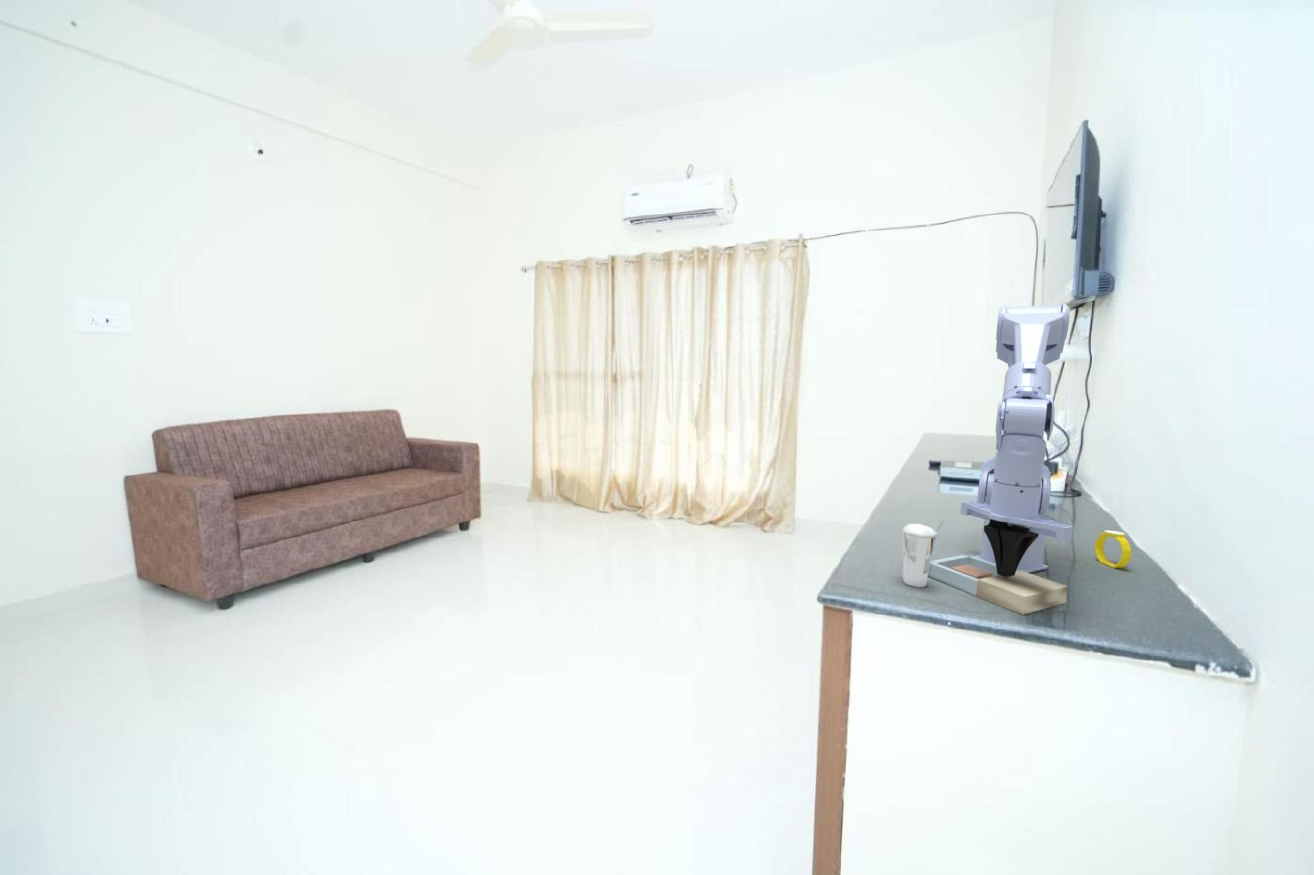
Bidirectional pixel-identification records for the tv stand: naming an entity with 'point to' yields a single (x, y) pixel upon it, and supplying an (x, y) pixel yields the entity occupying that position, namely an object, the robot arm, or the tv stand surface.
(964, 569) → the tile
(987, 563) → the box
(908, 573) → the milkshake
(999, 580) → the beige wooden block
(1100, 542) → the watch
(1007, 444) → the robot arm
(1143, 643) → the tv stand surface
